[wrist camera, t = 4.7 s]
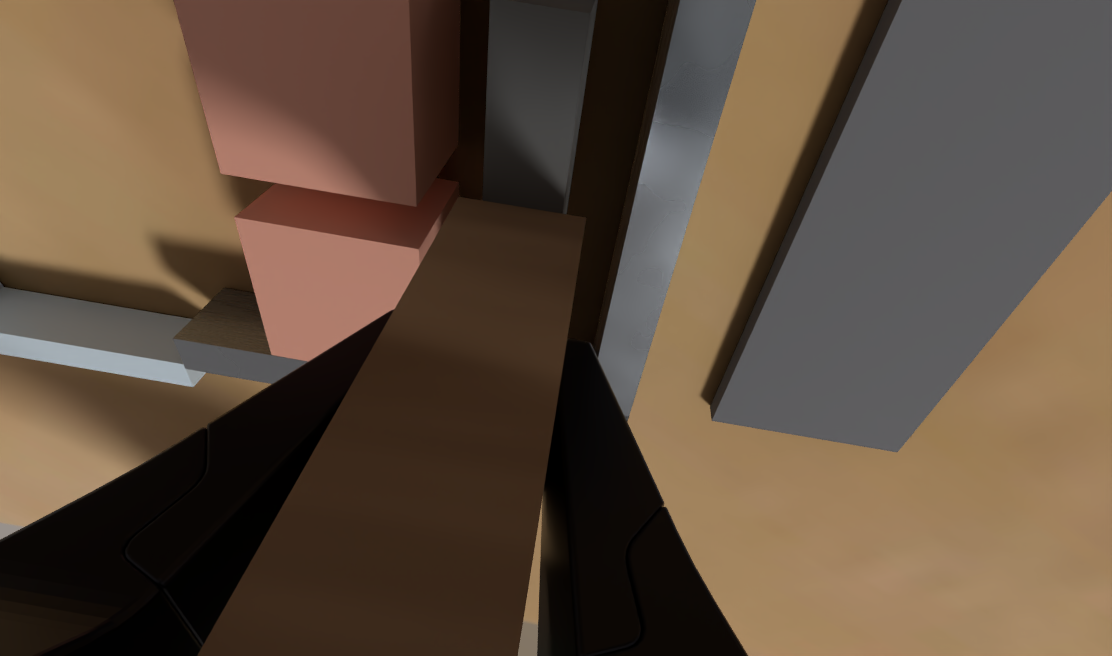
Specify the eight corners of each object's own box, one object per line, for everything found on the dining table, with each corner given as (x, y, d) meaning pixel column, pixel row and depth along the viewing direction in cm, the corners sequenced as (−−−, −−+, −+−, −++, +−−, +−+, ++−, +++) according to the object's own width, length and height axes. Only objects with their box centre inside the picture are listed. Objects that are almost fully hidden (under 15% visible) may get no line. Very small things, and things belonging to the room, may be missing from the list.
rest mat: (890, 437, 18) (897, 451, 18) (709, 407, 18) (711, 420, 18) (1306, -92, 9) (1342, -91, 9) (952, -146, 9) (968, -147, 9)
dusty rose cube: (459, 142, 14) (416, 206, 11) (302, 116, 14) (221, 173, 11) (463, -49, 11) (407, -26, 9) (270, -81, 11) (155, -68, 9)
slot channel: (622, 383, 18) (620, 443, 16) (233, 317, 18) (185, 369, 16) (769, -143, 10) (800, -147, 8) (49, -254, 10) (-92, -285, 8)
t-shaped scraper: (561, 354, 16) (472, 906, 7) (478, 340, 16) (293, 873, 7) (624, -9, 10) (545, 580, 2) (494, -29, 10) (-245, 444, 2)
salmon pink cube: (457, 301, 17) (423, 381, 14) (329, 279, 17) (271, 354, 14) (460, 180, 15) (418, 249, 12) (309, 154, 15) (234, 217, 12)
